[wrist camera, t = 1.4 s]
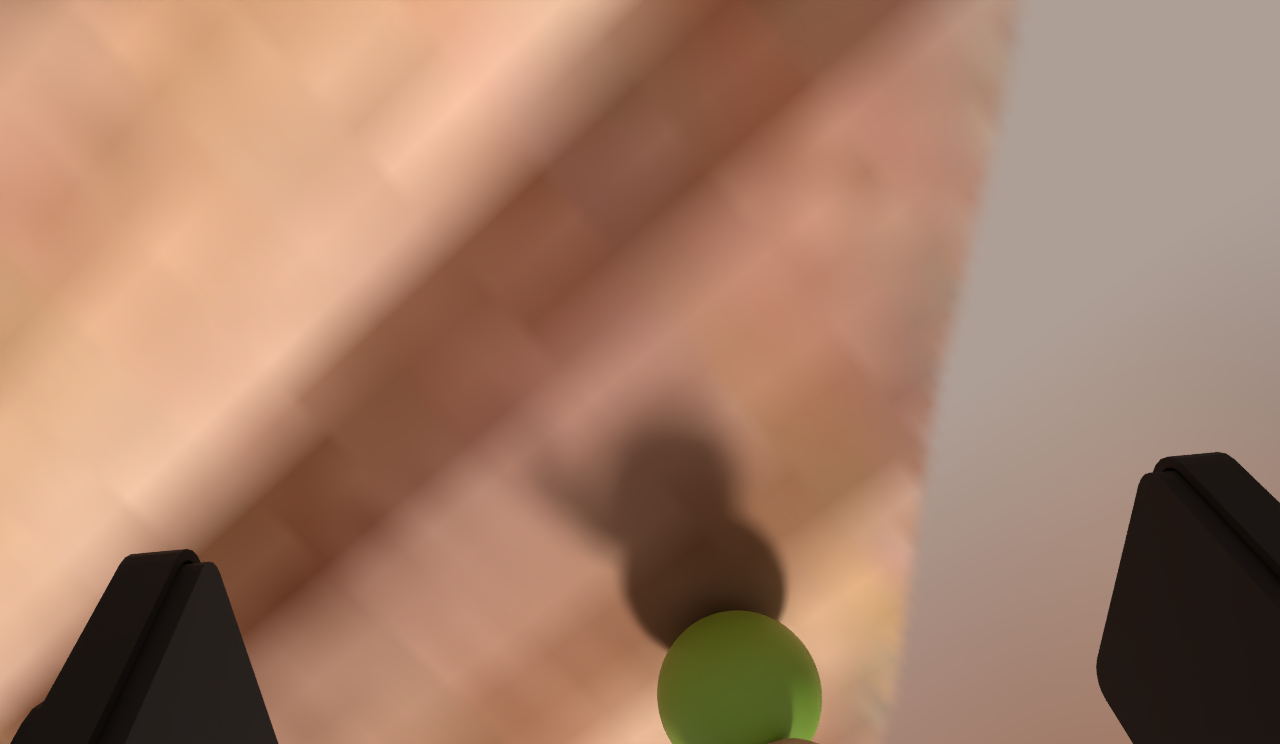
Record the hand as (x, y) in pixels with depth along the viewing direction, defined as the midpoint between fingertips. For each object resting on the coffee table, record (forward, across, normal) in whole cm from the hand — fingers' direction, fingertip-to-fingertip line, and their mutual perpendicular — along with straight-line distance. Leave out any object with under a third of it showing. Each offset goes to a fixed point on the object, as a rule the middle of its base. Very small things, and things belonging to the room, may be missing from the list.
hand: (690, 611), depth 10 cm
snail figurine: (+19, -3, +19) cm, 27 cm away
